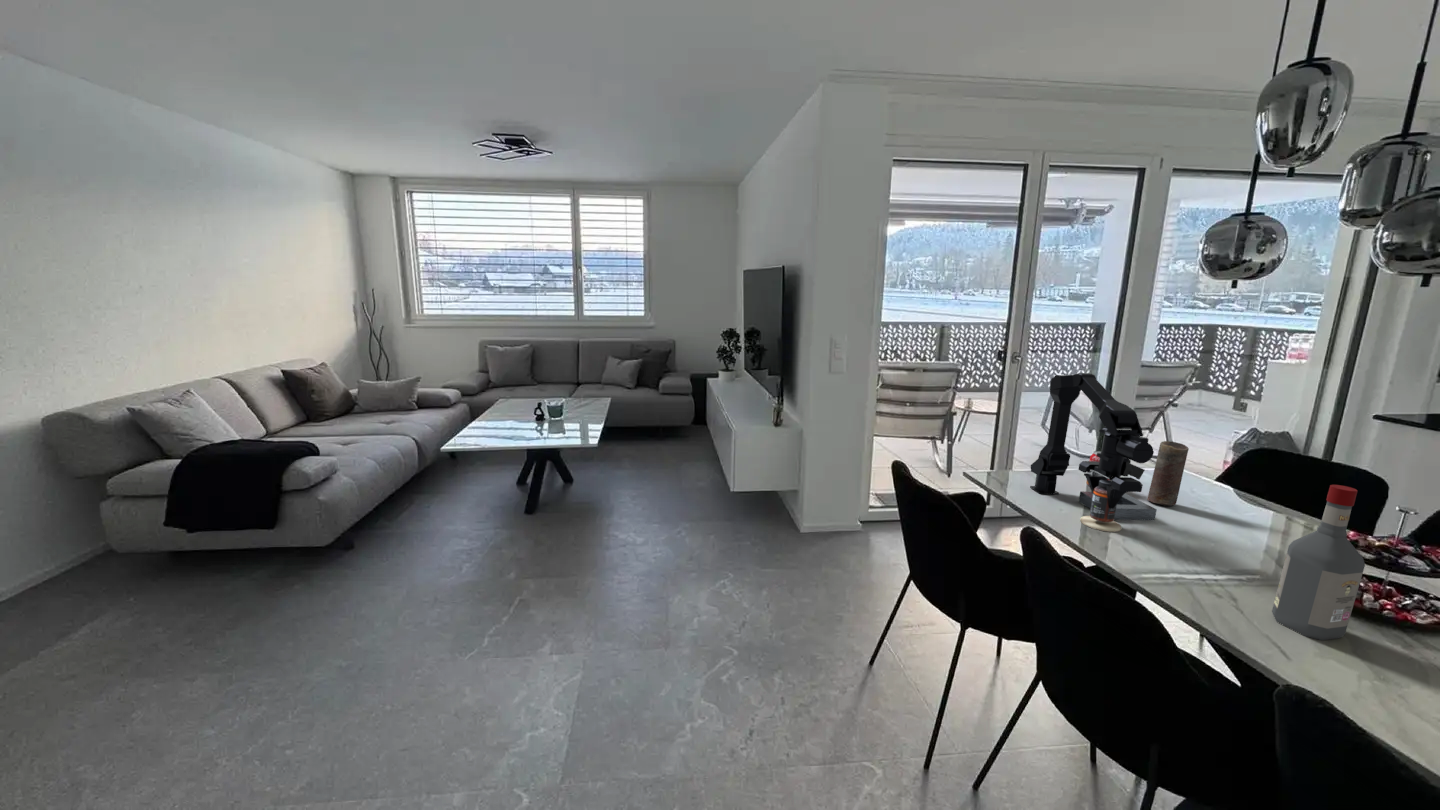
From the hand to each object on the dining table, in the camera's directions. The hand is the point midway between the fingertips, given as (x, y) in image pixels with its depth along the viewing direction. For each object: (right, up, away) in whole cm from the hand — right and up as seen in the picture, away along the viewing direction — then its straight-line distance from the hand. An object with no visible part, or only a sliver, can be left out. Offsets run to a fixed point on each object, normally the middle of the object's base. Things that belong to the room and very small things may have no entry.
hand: (1103, 504), depth 164 cm
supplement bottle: (0, -5, +1) cm, 5 cm away
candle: (+32, -3, +19) cm, 37 cm away
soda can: (+20, 0, +34) cm, 40 cm away
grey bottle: (+9, -17, -48) cm, 51 cm away
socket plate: (+12, -4, +12) cm, 17 cm away
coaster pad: (0, -6, +1) cm, 6 cm away
